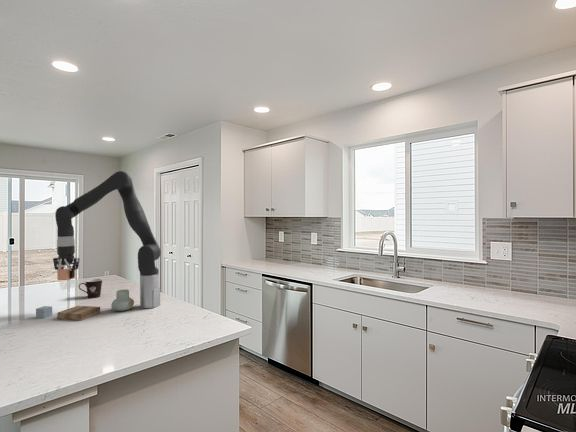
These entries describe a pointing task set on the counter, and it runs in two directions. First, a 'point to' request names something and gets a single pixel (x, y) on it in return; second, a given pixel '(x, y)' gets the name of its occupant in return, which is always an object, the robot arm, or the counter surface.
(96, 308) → the walnut plinth
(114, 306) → the air freshener
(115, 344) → the counter surface
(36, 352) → the counter surface
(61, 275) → the terracotta block
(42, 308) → the slate block
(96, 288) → the coffee mug
